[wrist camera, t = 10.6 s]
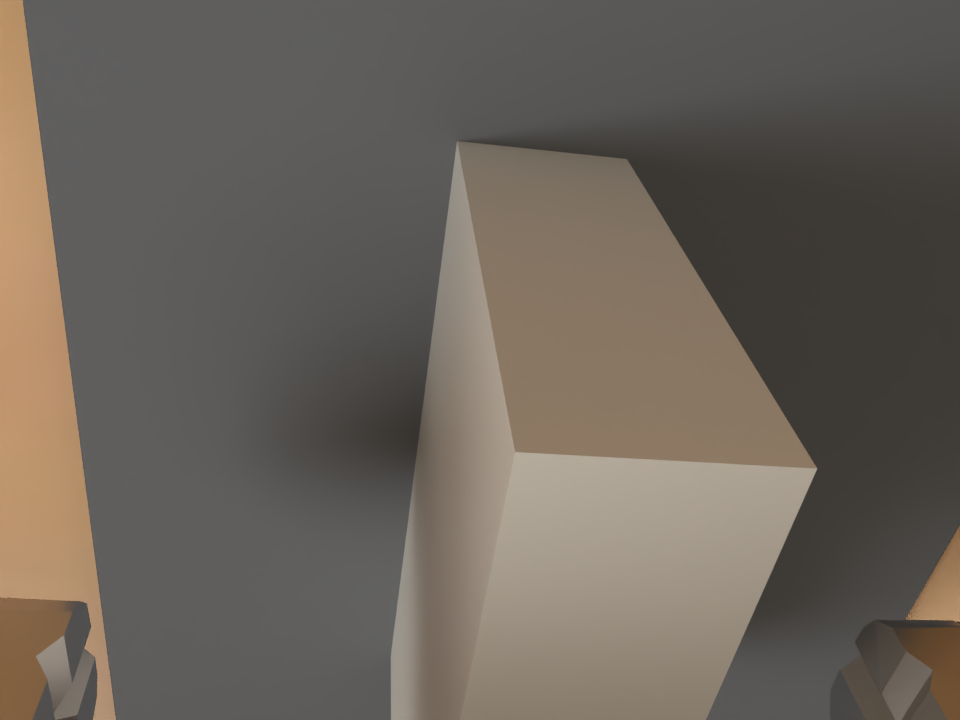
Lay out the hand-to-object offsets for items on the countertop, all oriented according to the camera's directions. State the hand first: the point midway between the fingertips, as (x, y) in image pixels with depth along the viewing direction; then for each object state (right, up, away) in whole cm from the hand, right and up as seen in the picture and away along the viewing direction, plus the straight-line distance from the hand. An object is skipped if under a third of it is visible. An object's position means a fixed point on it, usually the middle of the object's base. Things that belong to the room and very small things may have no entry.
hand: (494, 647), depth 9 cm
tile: (0, +2, +2) cm, 3 cm away
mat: (+1, +2, +3) cm, 3 cm away
